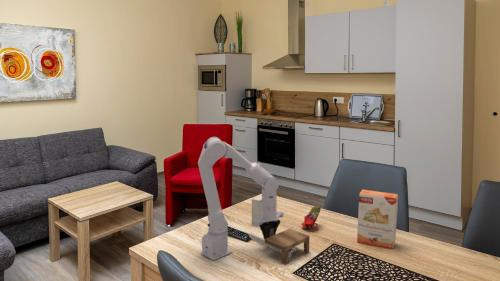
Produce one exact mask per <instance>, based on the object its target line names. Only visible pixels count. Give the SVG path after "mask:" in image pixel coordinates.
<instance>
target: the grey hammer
mask: <svg viewBox="0 0 500 281" xmlns="http://www.w3.org/2000/svg"><path fill="white" fill-rule="evenodd" d="M273 235H274V227H271V229H270V235H269V237H271V236H273ZM248 236H249V237H250V238H251V239H250V238H249V239H250V240H252V241H255V242H257V243H258V244H260V245H262V246H265V247H266V248H269V249H271V250H273V251H275V252H277V253H279V254H281V255H282V250H281V249H278V248H276V247H273V246H271V245H269V244H266V243H265V240H264V237H260V236H259V235H257V234H254V233H252V232H250V233H249V235H248ZM288 258H292V254H291V251H289V250H288Z"/></svg>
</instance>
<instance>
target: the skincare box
mask: <svg viewBox="0 0 500 281" xmlns="http://www.w3.org/2000/svg"><path fill="white" fill-rule="evenodd" d="M261 216H262V195H258V196H254V197H253V198H251V224H252V225H254V221H255V220H257V219H258V218H259V217H261Z"/></svg>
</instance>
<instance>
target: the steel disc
mask: <svg viewBox="0 0 500 281" xmlns="http://www.w3.org/2000/svg"><path fill="white" fill-rule="evenodd" d="M289 251H291V255H294V254H295V253H296V246H295V247H293V248H291V249H289Z"/></svg>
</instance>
